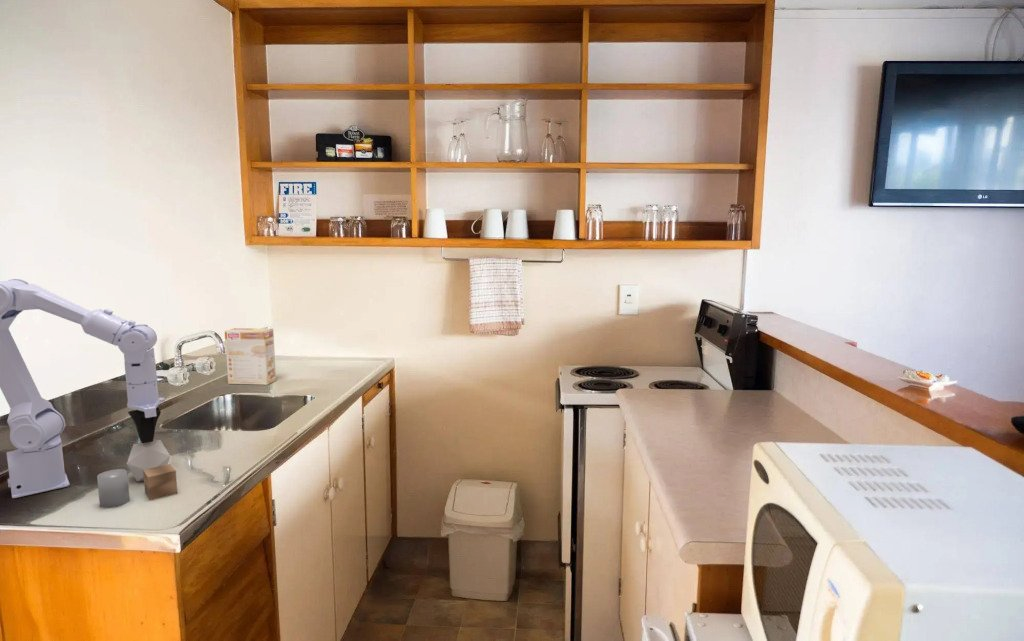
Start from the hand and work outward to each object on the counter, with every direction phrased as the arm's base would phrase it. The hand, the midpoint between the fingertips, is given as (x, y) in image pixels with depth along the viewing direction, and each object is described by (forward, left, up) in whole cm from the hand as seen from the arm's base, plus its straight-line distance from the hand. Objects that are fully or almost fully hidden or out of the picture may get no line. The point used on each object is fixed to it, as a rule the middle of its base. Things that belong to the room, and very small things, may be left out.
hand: (147, 441), depth 132 cm
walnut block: (0, -11, -8) cm, 14 cm away
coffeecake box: (+46, +74, -8) cm, 88 cm away
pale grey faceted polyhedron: (0, 0, -8) cm, 8 cm away
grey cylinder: (-8, -10, -8) cm, 15 cm away
